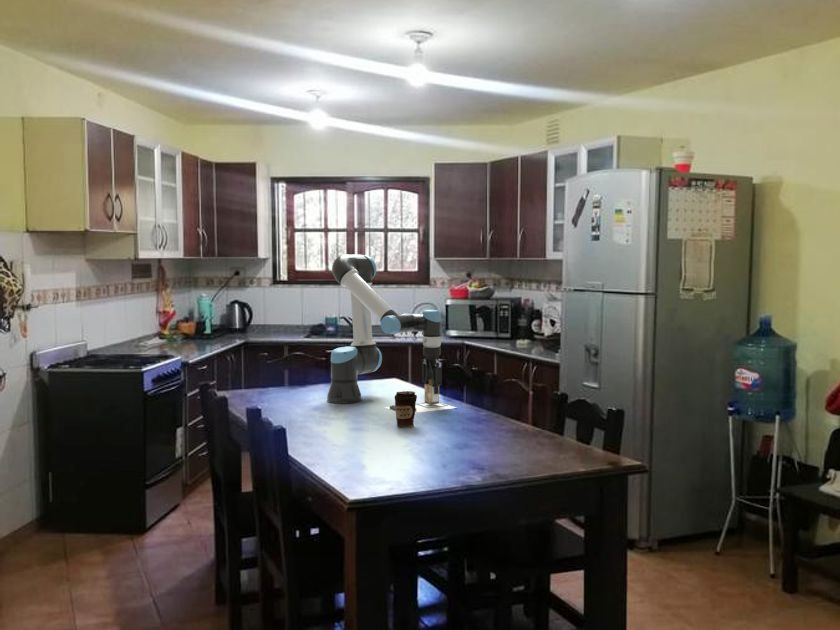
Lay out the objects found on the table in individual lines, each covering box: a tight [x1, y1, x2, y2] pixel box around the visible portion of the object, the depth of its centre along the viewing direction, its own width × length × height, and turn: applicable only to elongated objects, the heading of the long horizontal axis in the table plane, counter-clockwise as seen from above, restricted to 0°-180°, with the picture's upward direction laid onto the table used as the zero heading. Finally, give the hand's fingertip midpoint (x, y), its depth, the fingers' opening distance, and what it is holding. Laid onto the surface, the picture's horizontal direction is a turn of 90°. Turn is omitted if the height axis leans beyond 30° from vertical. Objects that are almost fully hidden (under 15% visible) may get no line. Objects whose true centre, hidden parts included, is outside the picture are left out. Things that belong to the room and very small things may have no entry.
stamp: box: [424, 379, 440, 405], centre depth 327 cm, size 4×4×10 cm
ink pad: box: [389, 404, 416, 412], centre depth 316 cm, size 10×7×2 cm
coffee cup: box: [394, 390, 418, 428], centre depth 286 cm, size 9×8×13 cm
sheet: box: [383, 402, 457, 414], centre depth 322 cm, size 17×26×1 cm, turn 121°
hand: (431, 400), depth 327 cm, fingers closed on stamp, 4 cm apart
